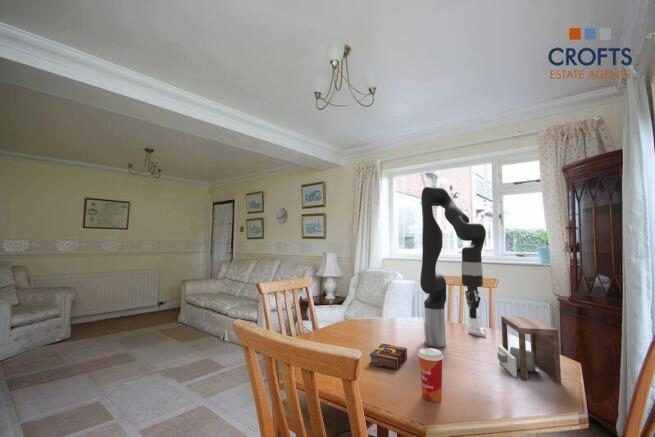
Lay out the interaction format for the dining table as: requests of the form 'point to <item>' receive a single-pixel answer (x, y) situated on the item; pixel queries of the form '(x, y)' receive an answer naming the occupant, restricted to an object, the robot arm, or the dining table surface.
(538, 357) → the brown wooden small table
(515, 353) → the ceramic mug
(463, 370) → the dining table surface
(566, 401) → the dining table surface
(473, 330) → the seated beast figurine
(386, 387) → the dining table surface
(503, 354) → the pull-out front
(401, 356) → the brown patterned box
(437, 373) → the paper cup
